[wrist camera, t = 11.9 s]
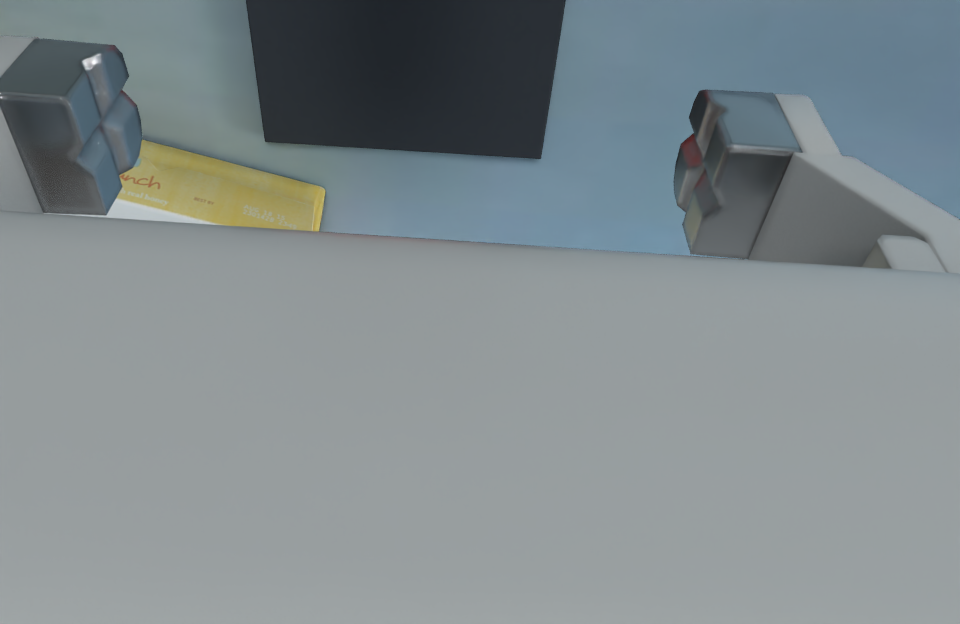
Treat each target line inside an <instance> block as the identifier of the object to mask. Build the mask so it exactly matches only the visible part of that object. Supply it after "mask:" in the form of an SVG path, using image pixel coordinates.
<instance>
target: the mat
mask: <svg viewBox="0 0 960 624" xmlns="http://www.w3.org/2000/svg"><path fill="white" fill-rule="evenodd" d="M565 1H566V0H246V4H247V11H248V19H249V26H250V34H251V41H252V48H253V56H254V63H255V71H256V78H257V86H258V93H259V100H260V108H261V115H262V123H263V130H264V138H265V142H276V143H292V144H308V145H325V146H341V147H357V148H373V149H389V150H405V151H422V152H438V153H454V154H470V155H486V156H503V157H519V158H535V159H541V155H542V148H543V142H544V136H545V129H546V123H547V116H548V110H549V104H550V97H551V91H552V84H553V78H554V71H555V65H556V59H557V52H558V46H559V39H560V33H561V27H562V20H563V14H564V7H565Z"/></svg>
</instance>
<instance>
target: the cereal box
mask: <svg viewBox="0 0 960 624" xmlns="http://www.w3.org/2000/svg"><path fill="white" fill-rule="evenodd" d="M119 177H120V180H121V183H122V189H121V191H120V192H119V194H118V196H117V198H116V199H115V201H114V203H113V205H112V206H111V208H110V210H109V212H108V213H107V215H106V216H103V215H78V214H60V215H75V216H90V217H105V218H120V219H135V220H151V221H166V222H181V223H196V224H211V225H226V226H242V227H257V228H272V229H287V230H302V231H318V232H319V230H320V224H321V218H322V212H323V204H324V198H325V193H326V192H325V189H324V188H323V187H320V186H316V185H313V184H309V183H305V182H301V181H298V180H294V179H290V178H287V177H283V176H279V175H275V174H271V173H267V172H264V171H260V170H256V169H252V168H248V167H244V166H240V165H237V164H233V163H229V162H226V161H222V160H218V159H214V158H211V157H207V156H203V155H199V154H195V153H191V152H188V151H184V150H180V149H177V148H173V147H169V146H165V145H161V144H157V143H153V142H150V141H146V140H142V142H141V149H140V155H139V157H138V159H137V161H136V163H135V165H134V167H133V168H132V169H130V170H129V171H127V172H125V173H123V174H121V175H119ZM44 214H53V213H44Z"/></svg>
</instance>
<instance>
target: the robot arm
mask: <svg viewBox="0 0 960 624" xmlns="http://www.w3.org/2000/svg"><path fill="white" fill-rule="evenodd" d="M128 77H129V74H128V71H127V68H126V64H125V61H124V58H123V54H122V53H121V52H120V51H119V50H118V48H117V47H116V46H115V45H108V44H97V43H86V42H76V41H65V40H54V39H44V38H43V39H40V38H38V37H25V36H0V624H960V219H958V218H956V217H955V216H953V215H951V214H950V213H948V212H946V211H945V210H943V209H941V208H939V207H938V206H936V205H934V204H933V203H931V202H929V201H928V200H926V199H924V198H922V197H921V196H919V195H917V194H916V193H914V192H912V191H910V190H909V189H907V188H905V187H904V186H902V185H900V184H899V183H897V182H895V181H893V180H892V179H890V178H888V177H887V176H885V175H883V174H882V173H880V172H878V171H876V170H875V169H873V168H871V167H870V166H868V165H866V164H865V163H863V162H861V161H859V160H858V159H856V158H854V157H852V156H842V155H841V153H840V151H839V149H838V148H837V146H836V144H835V142H834V140H833V139H832V137H831V135H830V133H829V132H828V130H827V128H826V126H825V124H824V123H823V121H822V119H821V117H820V115H819V114H818V112H817V110H816V108H815V106H814V105H813V103H812V101H811V99H810V98H809V97H807V96H805V95H801V94H773V93H764V92H744V91H724V90H702V91H699V93H698V95H697V97H696V99H695V101H694V103H693V106H692V109H691V113H690V116H689V119H690V122H691V125H692V128H693V132H694V133H693V134H692V135H691V136H690V137H688V138H687V139H686V140H685V141H684V142H683V143H681V146H680V149H679V153H678V157H677V161H676V165H675V174H674V194H675V199H676V203H677V206H679V207H680V208H681V209H682V210H684V211H685V212H686V215H685V218H684V221H683V224H682V225H683V229H684V233H685V236H686V240H687V243H688V247H689V250H690V254H696V255H707V256H718V257H729V258H715V257H700V256H684V255H669V254H654V253H638V252H623V251H608V250H592V249H577V248H562V247H546V246H531V245H515V244H500V243H485V242H469V241H454V240H439V239H424V238H409V237H393V236H378V235H363V234H348V233H333V232H318V231H302V230H287V229H272V228H257V227H242V226H226V225H211V224H196V223H181V222H166V221H151V220H135V219H120V218H105V217H90V216H75V215H60V214H78V215H103V216H106V215H107V213H108V212H109V210H110V208H111V206H112V205H113V203H114V201H115V199H116V198H117V196H118V194H119V192H120V191H121V189H122V183H121V180H120V177H119V175H121V174H123V173H125V172H127V171H129V170H130V169H132V168H133V167H134V165H135V163H136V161H137V159H138V157H139V155H140V149H141V142H142V129H141V120H140V116H139V112H138V108H137V105H136V104H135V103H134V102H133V101H132V100H131V99H130V97H129V96H128V95H127V94H126V93H125V92H124V91H123V90H122V88H123V86H124V85H125V83H126V81H127V79H128ZM44 213H53V214H44ZM730 258H740V259H730ZM746 259H748V260H746Z"/></svg>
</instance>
